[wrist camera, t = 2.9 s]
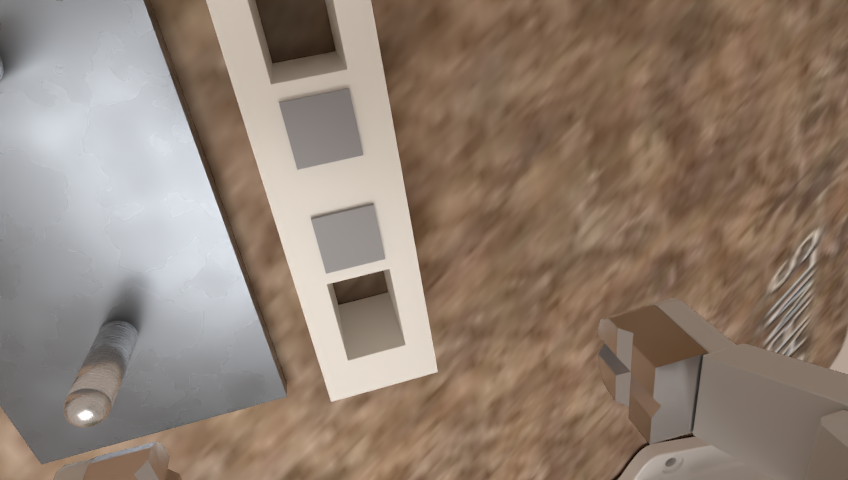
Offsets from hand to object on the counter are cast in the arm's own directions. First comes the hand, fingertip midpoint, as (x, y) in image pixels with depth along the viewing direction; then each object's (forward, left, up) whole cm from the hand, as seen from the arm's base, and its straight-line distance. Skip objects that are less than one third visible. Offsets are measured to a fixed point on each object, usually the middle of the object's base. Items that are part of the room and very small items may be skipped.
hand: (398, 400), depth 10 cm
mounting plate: (+11, 0, -16) cm, 20 cm away
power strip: (0, 0, -16) cm, 16 cm away
